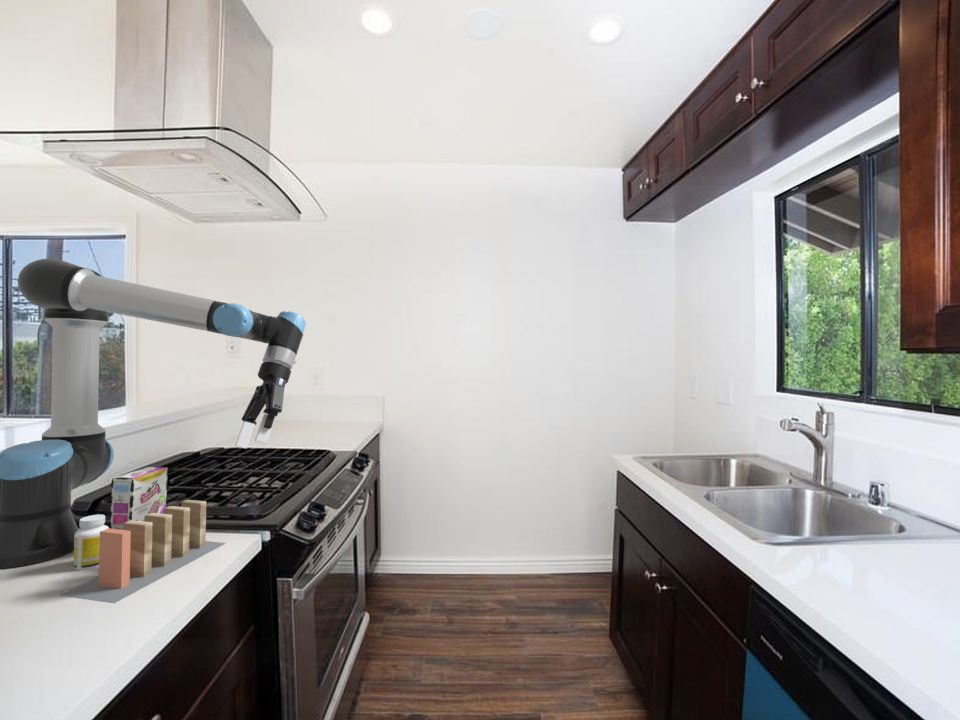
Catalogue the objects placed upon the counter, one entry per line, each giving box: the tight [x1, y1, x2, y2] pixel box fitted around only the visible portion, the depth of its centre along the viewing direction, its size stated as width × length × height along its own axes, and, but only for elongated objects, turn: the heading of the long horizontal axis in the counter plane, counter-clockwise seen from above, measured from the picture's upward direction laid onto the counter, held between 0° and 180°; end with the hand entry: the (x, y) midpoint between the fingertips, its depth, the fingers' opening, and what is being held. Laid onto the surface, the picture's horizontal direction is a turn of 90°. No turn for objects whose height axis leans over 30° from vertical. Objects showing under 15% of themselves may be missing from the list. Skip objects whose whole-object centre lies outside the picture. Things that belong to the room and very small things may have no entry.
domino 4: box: [164, 505, 190, 557], centre depth 96 cm, size 2×5×10 cm, turn 80°
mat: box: [58, 540, 227, 604], centre depth 91 cm, size 26×12×1 cm, turn 170°
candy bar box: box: [109, 466, 169, 530], centre depth 102 cm, size 11×5×16 cm, turn 0°
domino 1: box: [98, 528, 131, 588], centre depth 83 cm, size 2×5×10 cm, turn 80°
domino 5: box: [180, 499, 207, 548], centre depth 100 cm, size 2×5×10 cm, turn 80°
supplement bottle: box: [73, 514, 110, 571], centre depth 91 cm, size 5×5×10 cm
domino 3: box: [144, 513, 172, 566], centre depth 92 cm, size 2×5×10 cm, turn 80°
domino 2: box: [123, 520, 152, 577], centre depth 87 cm, size 2×5×10 cm, turn 80°
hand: (250, 444), depth 109 cm, fingers open, 13 cm apart
